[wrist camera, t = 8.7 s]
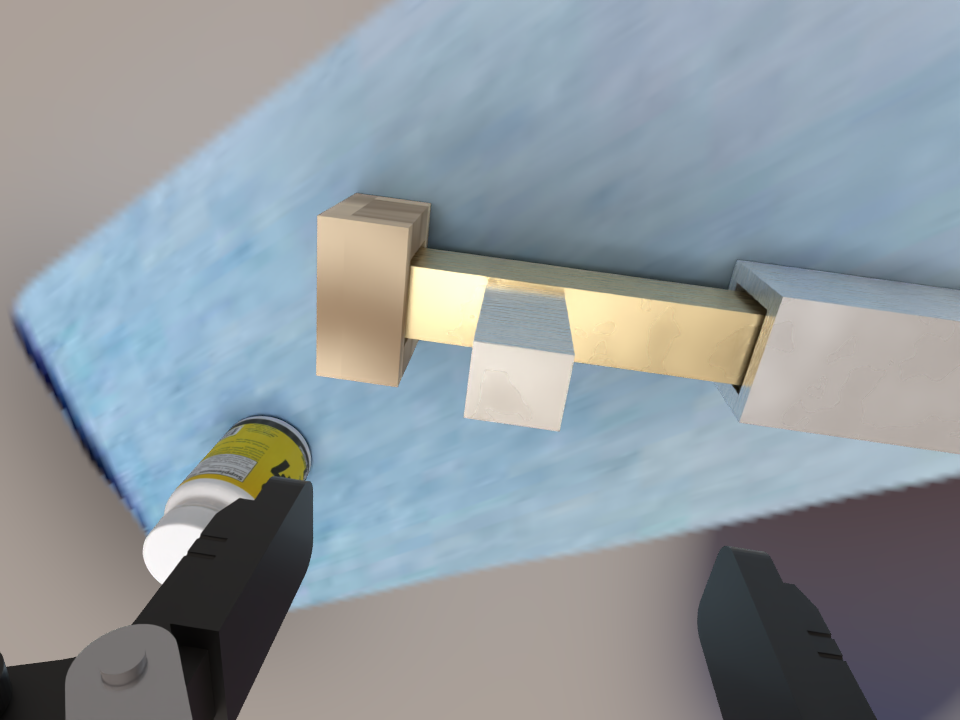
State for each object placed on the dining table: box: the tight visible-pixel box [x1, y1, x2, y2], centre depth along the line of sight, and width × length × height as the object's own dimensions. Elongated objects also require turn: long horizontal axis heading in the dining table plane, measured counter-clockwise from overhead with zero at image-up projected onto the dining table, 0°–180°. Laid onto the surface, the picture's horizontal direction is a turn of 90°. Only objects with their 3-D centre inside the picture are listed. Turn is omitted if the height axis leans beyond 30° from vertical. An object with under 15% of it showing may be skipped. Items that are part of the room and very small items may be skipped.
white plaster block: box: [714, 259, 960, 454], centre depth 24 cm, size 5×11×5 cm, turn 83°
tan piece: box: [405, 247, 768, 431], centre depth 22 cm, size 3×18×9 cm, turn 83°
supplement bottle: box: [143, 416, 311, 584], centre depth 28 cm, size 5×5×8 cm
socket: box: [316, 193, 431, 387], centre depth 25 cm, size 6×3×5 cm, turn 173°
